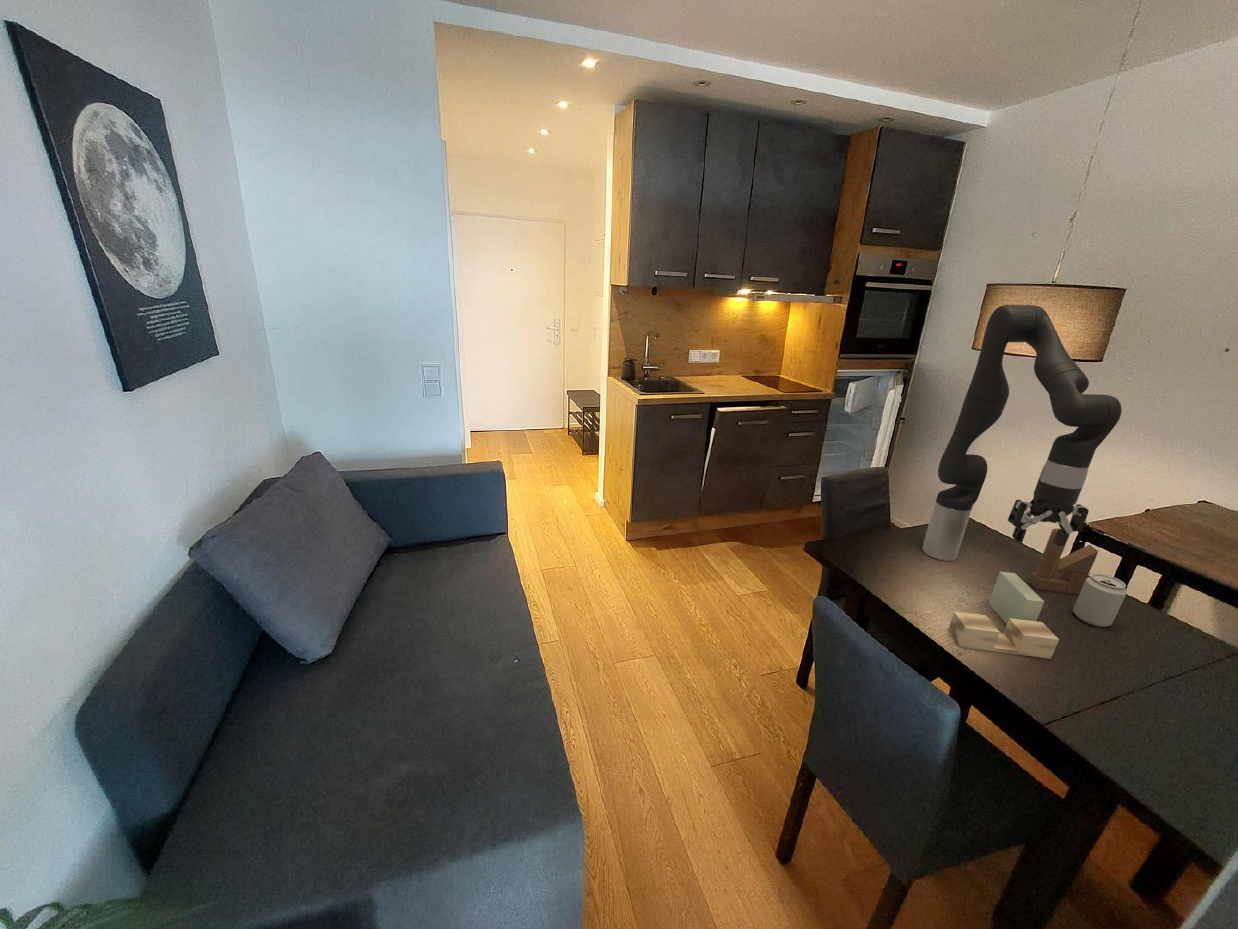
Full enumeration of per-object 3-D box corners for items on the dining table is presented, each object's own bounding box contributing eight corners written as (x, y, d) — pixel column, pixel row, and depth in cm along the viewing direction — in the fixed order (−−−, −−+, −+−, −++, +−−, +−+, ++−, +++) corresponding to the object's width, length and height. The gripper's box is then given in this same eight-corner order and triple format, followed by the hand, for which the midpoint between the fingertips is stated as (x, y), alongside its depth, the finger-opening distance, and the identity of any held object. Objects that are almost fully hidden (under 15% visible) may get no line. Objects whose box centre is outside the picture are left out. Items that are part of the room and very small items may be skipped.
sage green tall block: (988, 603, 128) (999, 571, 125) (1003, 604, 128) (1014, 573, 124) (1014, 633, 117) (1027, 599, 114) (1030, 635, 117) (1044, 601, 113)
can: (1071, 619, 122) (1088, 579, 118) (1071, 606, 128) (1088, 567, 123) (1111, 633, 118) (1131, 592, 113) (1110, 619, 123) (1129, 579, 118)
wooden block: (1079, 595, 132) (1104, 538, 125) (1035, 589, 134) (1057, 533, 128) (1071, 587, 135) (1095, 532, 129) (1027, 582, 138) (1049, 527, 131)
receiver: (948, 629, 118) (954, 611, 116) (1034, 640, 115) (1042, 622, 113) (959, 647, 112) (966, 628, 110) (1050, 658, 109) (1059, 639, 107)
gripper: (1084, 477, 111) (1060, 538, 117) (1016, 472, 113) (995, 532, 119) (1109, 490, 104) (1082, 554, 110) (1035, 484, 106) (1013, 548, 112)
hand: (1037, 543), depth 114 cm, fingers open, 8 cm apart
